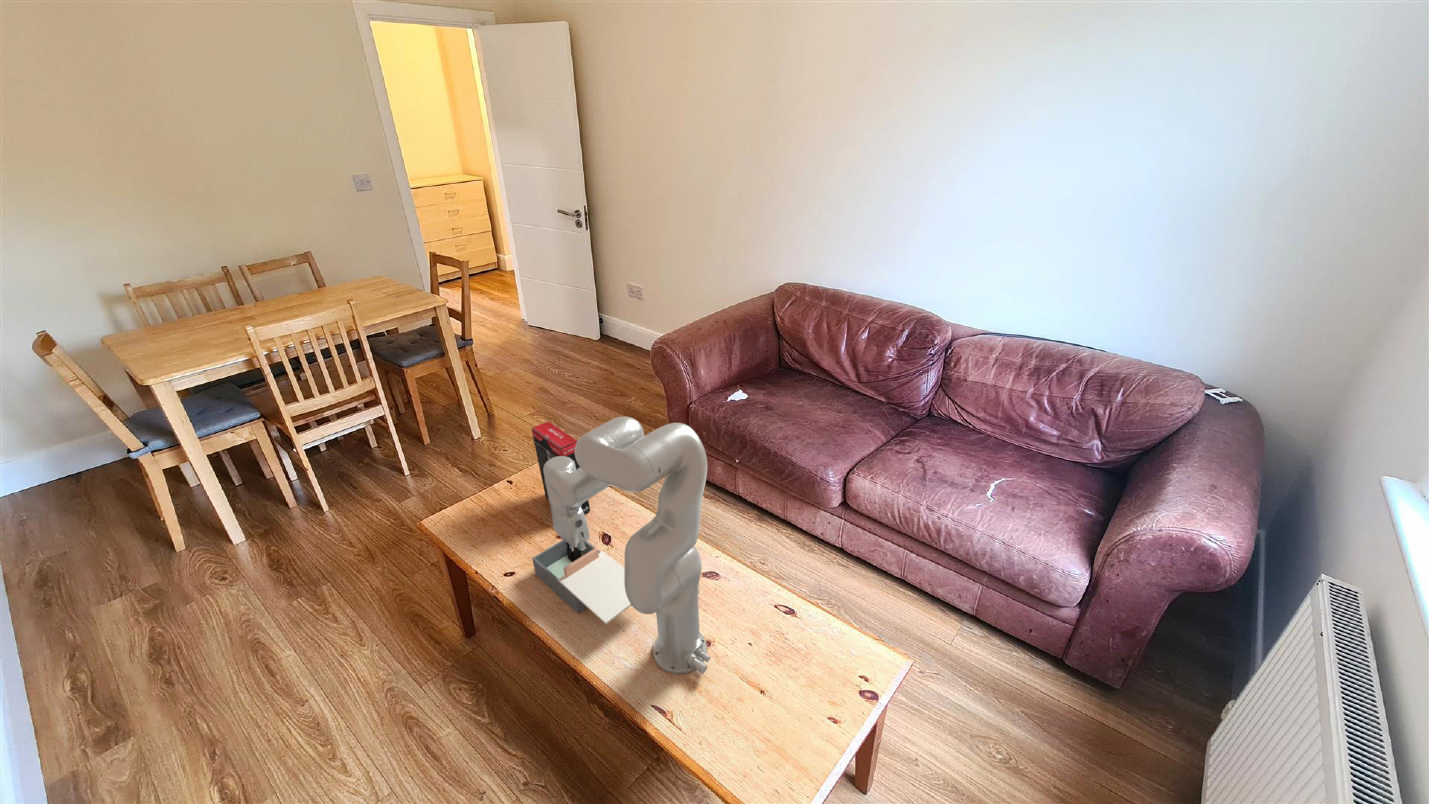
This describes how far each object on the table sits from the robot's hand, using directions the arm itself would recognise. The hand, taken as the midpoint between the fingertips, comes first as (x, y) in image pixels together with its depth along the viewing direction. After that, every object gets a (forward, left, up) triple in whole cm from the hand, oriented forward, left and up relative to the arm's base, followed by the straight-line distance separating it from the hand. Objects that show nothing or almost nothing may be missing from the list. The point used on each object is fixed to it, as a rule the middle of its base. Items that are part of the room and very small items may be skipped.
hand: (575, 557), depth 152 cm
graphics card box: (+29, -16, -8) cm, 34 cm away
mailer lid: (-12, 0, -1) cm, 13 cm away
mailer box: (0, 0, -8) cm, 8 cm away
